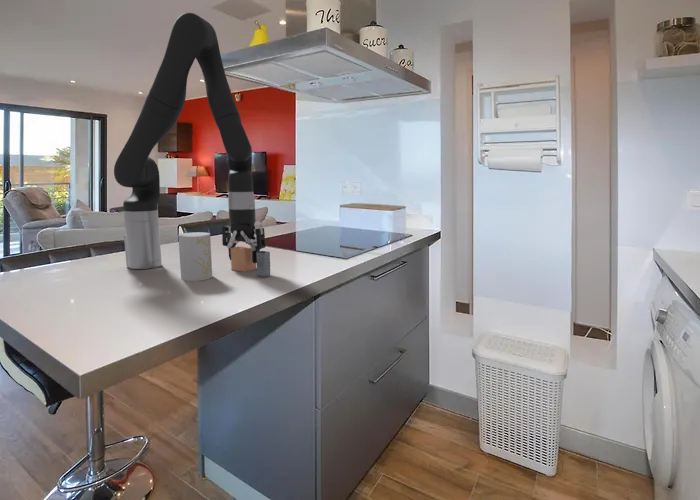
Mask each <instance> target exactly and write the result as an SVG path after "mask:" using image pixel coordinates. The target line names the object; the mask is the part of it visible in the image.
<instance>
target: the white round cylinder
mask: <svg viewBox="0 0 700 500" xmlns="http://www.w3.org/2000/svg"><path fill="white" fill-rule="evenodd" d="M177 235H178V248H179V249H178V251H179V266H180V267H179V268H180V279H181V280H183V281H185V282H186V281H188V282H193V281H194V282H198V281H204V280H205V279H206V280H209V279H211V278H213V267H212V265H213V264H212V249H211V248H212V245H211V244H212V243H211V242H212V241H211V233H210V232H203V231H202V232H201V231H200V232H199V231H197V232H194V231H193V232H183V233H179V234H177ZM206 280H205V281H206Z"/></svg>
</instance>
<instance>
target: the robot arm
mask: <svg viewBox="0 0 700 500" xmlns="http://www.w3.org/2000/svg"><path fill="white" fill-rule="evenodd" d="M195 59H196V61H197V63H198V64H199V67H200V69H201V72H202V75H203V79H204V84H205V89H206V90H205V91H206V98H207V103H208V106H209V109H210V111H211V114H212V117H213V120H214V121H215V124H216V127H217V128H218V131H219V134H220V136H221V140H222V144H223V147H224V150H225V153H226V155H227V160H228V174H227V175H228V176H227V177H228V178H227V180H228V181H227V183H228V184H227V185H228V198H227V199H228V200H227V201H228V219H229V220H228V221H229V224H230V225H224V226H222V229H221V230H222V231H221V234H222V235H221V236H222V237H221V238H222V245H223V247H226V248H227V249H228V259H229V261H231V248H233V247H237V245H238V243H240V242H242V243H247V246H251V248H252V250H253V251H252V262H253V263H256V264H257V255H256V252H260V251H261V250H262V249H265V248H266V246H267V245H266V235H265V228H264V227H258V228H256V226H255V224H256V219H257V218H256V201H255V200H256V199H255V194H254V178H253V174H252V173H253V172H252V171H253V165H252V164H253V150H252V149H253V148H252V145H251V143H250V140H249V138H248V136H247V133H246V130H245V128H244V126H243V123H242V118H241V115H240V113H239V110H238V107H237V105H236V102H235V99H234V97H233V94H232V91H231V88H230V85H229V83H228V79H227V75H226V71H225V69H224V63H223V60H222V56H221V51H220V45H219V40H218V36H217V33H216V29H215V28H214V26H213V25H212V24H211V23H210V22H209V21H207V20H205V19H204V18H202V17H201V16H200V15H198V14H196V13H194V12H193V13H192V12H184V13H182V14H181V15H179V16H178V17H177V18H176V21H175V22H174V24H173V25H172V29H171V32H170V36H169V38H168V42H167V46H166V49H165V52H164V56H163V59H162V61H161V64H160V66H159V68H158V70H157V72H156V75H155V78H154V80H153V82H152V85H151V87H150V89H149V91H148V93H147V96H146V98H145V100H144V104H143V106H142V107H141V108H142V109H141V111H140V114H139V115H138V118H137V120H136V122H135V125H134V126H133V129H132V131H131V133H130V135H129V137H128V139H127V141H126V142H125V144H124V146H123V148H122V150H121V152H120V153H119V155H118V157H117V159H116V161H115V163H114V165H113V175H114V179H115V181H116V182H117V184H118V185H120V186H121V187H123V188H124V187H125V188H132V193H131V195H129V197H128V198H126V199H125V200H124V201H123V205H122V206H123V207H122V208H123V218H124V228H125V230H124V231H125V235H124V236H123V242H124V251H125V253H124V254H125V262H126V267H128V268H129V269H132V270H147V269H155V268H159V267H161V266H162V265H163V264H162V263H163V261H162V248H161V236H160V235H161V234H160V221H159V209H158V208H159V202H160V199H161V187H160V186H161V185H160V182H161V181H160V178H161V177H160V170H159V166H158V164H157V163H156V161H155V160H154V159H153V158H151V157H149V156H150V155H151V153H152V151H153V149H154V148H155V146H156V145H157V144H158V143H159V142H160V141H161V140H162V139H164V137H165V136H167V135H168V133H170V132H171V130H172V129H173V128H174V127H175V125H176V124H177V121H178V120H179V117H180V115H181V113H182V112H183V109H184V107H185V102H186V97H187V87H188V86H187V85H188V77H189V73H190V70H191V68H192V66H193V64H194V63H195Z"/></svg>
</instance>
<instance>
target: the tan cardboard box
mask: <svg viewBox="0 0 700 500" xmlns="http://www.w3.org/2000/svg"><path fill="white" fill-rule="evenodd" d="M252 251H253V250H252V248H251V246H250V245H238V246H235V247H233V248H231V260H230V266H231V267H230V269H231V271H238V272H249V271H252V270H255V269H256V270H257V263H253V262H252Z"/></svg>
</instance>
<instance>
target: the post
mask: <svg viewBox="0 0 700 500" xmlns="http://www.w3.org/2000/svg"><path fill="white" fill-rule="evenodd" d="M256 255H257V263H256V278H262V279H266V278H269V277H271V252H270V251H266V250H260V252H256Z"/></svg>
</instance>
